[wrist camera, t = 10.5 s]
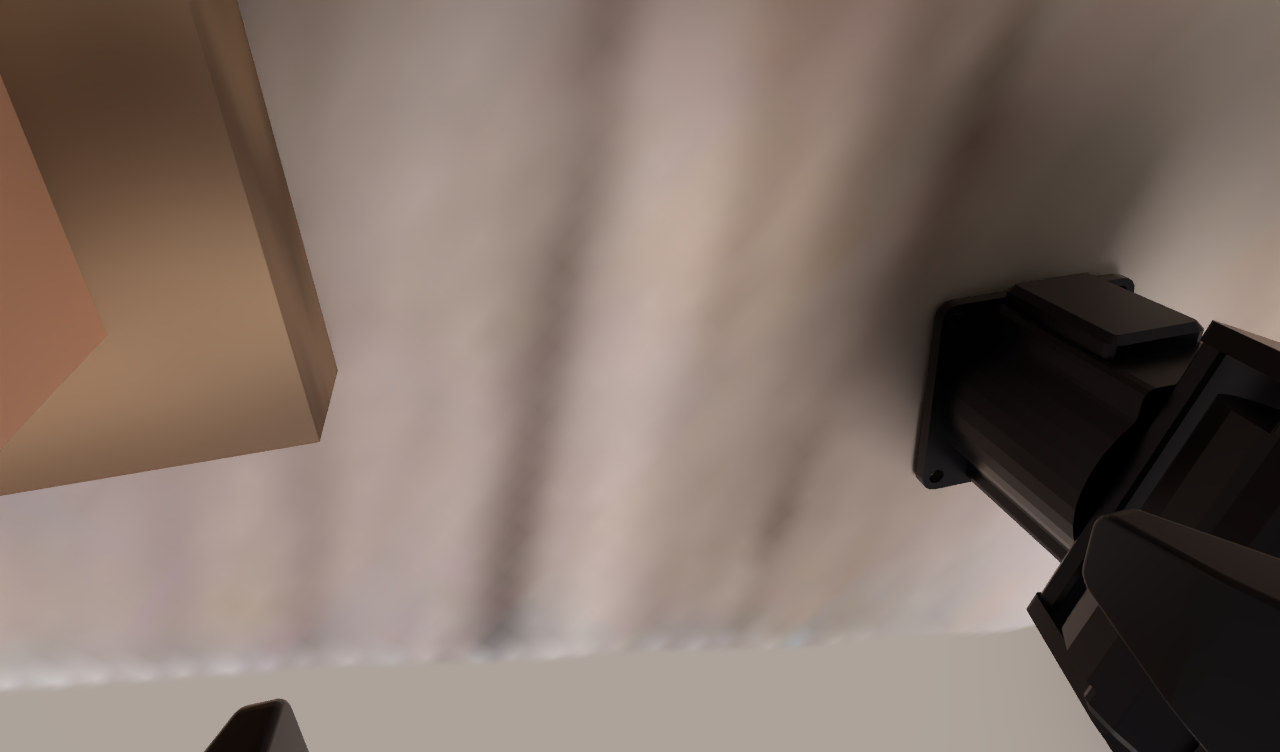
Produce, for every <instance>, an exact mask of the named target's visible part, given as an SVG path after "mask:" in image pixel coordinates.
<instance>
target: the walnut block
mask: <svg viewBox="0 0 1280 752" xmlns="http://www.w3.org/2000/svg"><path fill="white" fill-rule="evenodd" d="M0 75H1V78H2V80H3V83H4V85H5V87H6V90H7V92H8V95H9V97H10V100H11V102H12V105H13V107H14V109H15V112H16V114H17V117H18V119H19V122H20V124H21V127H22V129H23V131H24V134H25V136H26V139H27V141H28V144H29V146H30V149H31V151H32V154H33V156H34V158H35V161H36V163H37V166H38V168H39V171H40V173H41V176H42V178H43V180H44V183H45V185H46V188H47V190H48V193H49V195H50V198H51V200H52V202H53V205H54V207H55V210H56V212H57V215H58V217H59V220H60V222H61V225H62V227H63V229H64V232H65V234H66V237H67V239H68V242H69V244H70V247H71V249H72V251H73V254H74V256H75V259H76V261H77V264H78V266H79V269H80V271H81V273H82V276H83V278H84V281H85V283H86V286H87V288H88V291H89V293H90V296H91V298H92V300H93V303H94V305H95V308H96V310H97V313H98V315H99V318H100V320H101V322H102V325H103V327H104V330H105V332H106V335H107V336H106V337H105V338H104V339H103V340H102V341H101V342H100V344H99V345H98V346H97V347H96V348H95V349H94V350H93V351H92V352H91V353H90V354H89V355H88V356H87V357H86V358H85V360H84V361H83V362H82V363H81V364H80V365H79V366H78V367H77V368H76V369H75V370H74V371H73V372H72V373H71V374H70V375H69V377H68V378H67V379H66V380H65V381H64V382H63V383H62V384H61V385H60V386H59V387H58V388H57V389H56V390H55V391H54V393H53V394H52V395H51V396H50V397H49V398H48V399H47V400H46V401H45V402H44V403H43V404H42V405H41V406H40V407H39V408H38V410H37V411H36V412H35V413H34V414H33V415H32V416H31V417H30V418H29V419H28V420H27V421H26V422H25V423H24V424H23V426H22V427H21V428H20V429H19V430H18V431H17V432H16V433H15V434H14V435H13V436H12V437H11V438H10V439H9V440H8V441H7V443H6V444H5V445H4V446H3V447H2V448H1V449H0V496H2V495H8V494H14V493H20V492H26V491H31V490H37V489H43V488H49V487H55V486H61V485H67V484H73V483H79V482H85V481H91V480H97V479H103V478H109V477H115V476H121V475H126V474H132V473H138V472H144V471H150V470H156V469H162V468H168V467H174V466H180V465H186V464H192V463H198V462H204V461H210V460H215V459H221V458H227V457H233V456H239V455H245V454H251V453H257V452H263V451H269V450H275V449H281V448H287V447H293V446H299V445H304V444H310V443H316V442H320V438H321V434H322V430H323V426H324V422H325V419H326V415H327V411H328V407H329V403H330V399H331V395H332V391H333V387H334V383H335V379H336V375H337V371H338V370H337V367H336V363H335V359H334V355H333V352H332V348H331V344H330V341H329V337H328V333H327V330H326V326H325V322H324V319H323V315H322V311H321V308H320V304H319V300H318V297H317V293H316V289H315V286H314V282H313V278H312V275H311V271H310V267H309V264H308V260H307V256H306V253H305V249H304V245H303V242H302V238H301V234H300V231H299V227H298V223H297V220H296V216H295V212H294V208H293V205H292V201H291V197H290V194H289V190H288V186H287V183H286V179H285V175H284V172H283V168H282V164H281V161H280V157H279V153H278V150H277V146H276V142H275V139H274V135H273V131H272V128H271V124H270V120H269V117H268V113H267V109H266V106H265V102H264V98H263V95H262V91H261V87H260V84H259V80H258V76H257V73H256V69H255V65H254V61H253V58H252V54H251V50H250V47H249V43H248V39H247V36H246V32H245V28H244V25H243V21H242V17H241V14H240V10H239V6H238V3H237V0H0Z"/></svg>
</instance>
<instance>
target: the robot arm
mask: <svg viewBox="0 0 1280 752" xmlns="http://www.w3.org/2000/svg"><path fill="white" fill-rule="evenodd" d="M956 313H957V317H956V319H955V320H954V321H953V322H951V323H950V319H951V317H952V316H953V315H954V314H956ZM1203 331H1204V328H1203V327H1202V326H1201V325H1200V324H1199V322H1198V321H1197V320H1195V319H1193V318H1191V317H1189V316H1186V315H1184V314H1182V313H1179V312H1177V311H1175V310H1172V309H1170V308H1168V307H1165V306H1163V305H1161V304H1159V303H1156V302H1154V301H1152V300H1149V299H1147V298H1145V297H1142V296H1140V295H1138V294H1135V293H1134V283H1133V281H1132V280H1130V279H1129V278H1127V277H1124V276H1122V275H1120V274H1109V275H1103V276H1097V277H1096V276H1094V275H1092V274H1089V273H1080V274H1074V275H1068V276H1061V277H1055V278H1049V279H1043V280H1036V281H1030V282H1024V283H1017V284H1015V285H1014V286H1012V287H1010V288H1009V289H1008V290H1007V291H1003V292H997V293H991V294H985V295H979V296H972V297H966V298H960V299H954V300H950V301H947V302H945V303H944V304H942V305H941V306H940V307H939V309H938V310H937V312H936V314H935V318H934V325H933V334H932V342H931V351H930V359H929V367H928V376H927V384H926V393H925V401H924V410H923V418H922V426H921V435H920V443H919V452H918V460H917V469H916V477H917V479H918V480H919V481H920V482H921V483H922V484H923V485H924V486H925V487H926V488H928V489H938V488H943V487H947V486H952V485H957V484H962V483H967V482H971V481H972V482H973V483H974V484H975V485H976V486H978V487H979V488H980V489H981V490H982V491H983V492H984V493H985V494H986V495H987V496H988V497H990V498H991V499H992V500H993V501H994V502H995V503H996V504H997V505H998V506H999V507H1001V508H1002V509H1003V510H1004V511H1005V512H1006V513H1007V514H1008V515H1009V516H1010V517H1011V518H1013V519H1014V520H1015V521H1016V522H1017V523H1018V524H1019V525H1020V526H1021V527H1022V528H1023V529H1025V530H1026V531H1027V532H1028V533H1029V534H1030V535H1031V536H1032V537H1033V538H1034V539H1035V540H1037V541H1038V542H1039V543H1040V544H1041V545H1042V546H1043V547H1044V548H1045V549H1046V550H1047V551H1049V552H1050V553H1051V554H1052V555H1053V556H1054V557H1055V558H1056V559H1057V560H1058V561H1060V562H1061V563H1060V565H1059V566H1058V568H1057V570H1056V571H1055V573H1054V574H1053V576H1052V577H1051V579H1050V580H1049V582H1048V583H1047V585H1046V587H1045V588H1044V590H1043V591H1042V593H1041V592H1037V593H1036V595H1035V597H1034V598H1033V600H1032V601H1031V603H1030V604H1029V606H1028V607H1027V611H1028V613H1029V615H1030V617H1031V618H1032V620H1033V622H1034V623H1035V625H1036V627H1037V628H1038V630H1039V632H1040V634H1041V635H1042V637H1043V639H1044V640H1045V642H1046V644H1047V645H1048V647H1049V649H1050V651H1051V652H1052V654H1053V656H1054V657H1055V659H1056V661H1057V662H1058V664H1059V666H1060V668H1061V669H1062V671H1063V673H1064V674H1065V676H1066V678H1067V679H1068V681H1069V683H1070V684H1071V686H1072V688H1073V690H1074V691H1075V693H1076V695H1077V697H1078V698H1079V700H1080V702H1081V703H1082V705H1083V707H1084V708H1085V710H1086V712H1087V714H1088V715H1089V717H1090V719H1091V720H1092V722H1093V723H1094V725H1095V726H1096V728H1097V729H1098V731H1099V732H1100V733H1101V735H1102V736H1103V738H1104V739H1105V740H1106V742H1107V744H1108V745H1109V747H1110V749H1111V750H1112V751H1113V752H1280V343H1279V342H1276V341H1273V340H1270V339H1268V338H1265V337H1262V336H1259V335H1256V334H1253V333H1250V332H1247V331H1244V330H1241V329H1238V328H1235V327H1232V326H1229V325H1226V324H1223V323H1220V322H1217V321H1214V320H1212V322H1211V324H1210V325H1209V327H1208V328H1207V330H1206V331H1205V333H1204V334H1203ZM1202 334H1203V336H1202ZM934 471H936V472H935V473H934V474H933V475H931V474H932V473H933V472H934ZM930 475H931V476H930ZM204 752H309V751H308V749H307V746H306V743H305V741H304V739H303V736H302V733H301V731H300V728H299V726H298V723H297V720H296V718H295V715H294V713H293V710H292V708H291V706H290V705H289V703H288V702H287V701H286V700H284V699H274V700H270V701H265V702H261V703H256V704H252V705H247V706H244V707H242V708H240V709H239V710H238V711H237V712H236V713H235V714H234V715H233V716H232V717H231V718H230V720H229V721H228V722H227V723H226V725H225V726H224V727H223V728H222V730H221V731H220V732H219V734H218V735H217V736H216V738H215V739H214V740H213V741H212V743H211V744H210V745H209V746H208V748H207V749H206V750H205V751H204Z"/></svg>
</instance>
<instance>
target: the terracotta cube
mask: <svg viewBox="0 0 1280 752" xmlns="http://www.w3.org/2000/svg"><path fill="white" fill-rule="evenodd" d="M106 336H107V335H106V332H105V330H104V327H103V325H102V322H101V320H100V318H99V315H98V313H97V310H96V308H95V305H94V303H93V300H92V298H91V296H90V293H89V291H88V288H87V286H86V283H85V281H84V278H83V276H82V273H81V271H80V269H79V266H78V264H77V261H76V259H75V256H74V254H73V251H72V249H71V247H70V244H69V242H68V239H67V237H66V234H65V232H64V229H63V227H62V225H61V222H60V220H59V217H58V215H57V212H56V210H55V207H54V205H53V202H52V200H51V198H50V195H49V193H48V190H47V188H46V185H45V183H44V180H43V178H42V176H41V173H40V171H39V168H38V166H37V163H36V161H35V158H34V156H33V154H32V151H31V149H30V146H29V144H28V141H27V139H26V136H25V134H24V131H23V129H22V127H21V124H20V122H19V119H18V117H17V114H16V112H15V109H14V107H13V105H12V102H11V100H10V97H9V95H8V92H7V90H6V87H5V85H4V83H3V80H2V78H1V75H0V449H1V448H2V447H3V446H4V445H5V444H6V443H7V441H8V440H9V439H10V438H11V437H12V436H13V435H14V434H15V433H16V432H17V431H18V430H19V429H20V428H21V427H22V426H23V424H24V423H25V422H26V421H27V420H28V419H29V418H30V417H31V416H32V415H33V414H34V413H35V412H36V411H37V410H38V408H39V407H40V406H41V405H42V404H43V403H44V402H45V401H46V400H47V399H48V398H49V397H50V396H51V395H52V394H53V393H54V391H55V390H56V389H57V388H58V387H59V386H60V385H61V384H62V383H63V382H64V381H65V380H66V379H67V378H68V377H69V375H70V374H71V373H72V372H73V371H74V370H75V369H76V368H77V367H78V366H79V365H80V364H81V363H82V362H83V361H84V360H85V358H86V357H87V356H88V355H89V354H90V353H91V352H92V351H93V350H94V349H95V348H96V347H97V346H98V345H99V344H100V342H101V341H102V340H103V339H104V338H105V337H106Z"/></svg>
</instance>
